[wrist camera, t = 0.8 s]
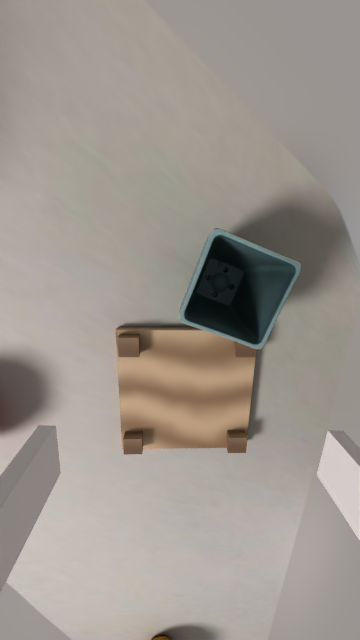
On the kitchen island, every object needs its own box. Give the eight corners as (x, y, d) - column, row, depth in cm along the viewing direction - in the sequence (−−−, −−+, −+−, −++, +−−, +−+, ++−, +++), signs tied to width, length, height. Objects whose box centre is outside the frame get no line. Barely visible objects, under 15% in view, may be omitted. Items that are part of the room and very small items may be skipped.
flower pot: (267, 260, 30) (305, 264, 21) (237, 325, 32) (262, 351, 24) (201, 233, 29) (213, 225, 20) (175, 302, 31) (176, 321, 22)
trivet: (117, 327, 32) (113, 333, 29) (255, 327, 32) (262, 334, 30) (124, 442, 36) (120, 457, 34) (243, 441, 37) (248, 455, 34)
